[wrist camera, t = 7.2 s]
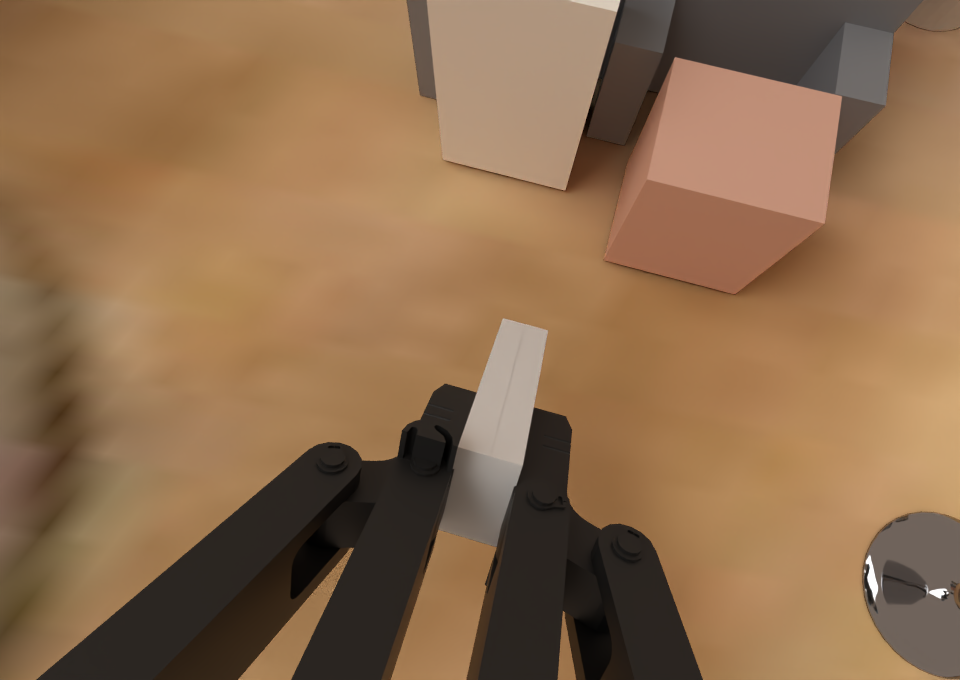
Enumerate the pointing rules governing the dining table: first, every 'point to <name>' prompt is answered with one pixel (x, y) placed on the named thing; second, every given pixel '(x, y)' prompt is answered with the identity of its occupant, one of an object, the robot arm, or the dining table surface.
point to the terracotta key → (724, 176)
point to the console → (732, 51)
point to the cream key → (517, 81)
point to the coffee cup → (936, 15)
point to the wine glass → (917, 590)
